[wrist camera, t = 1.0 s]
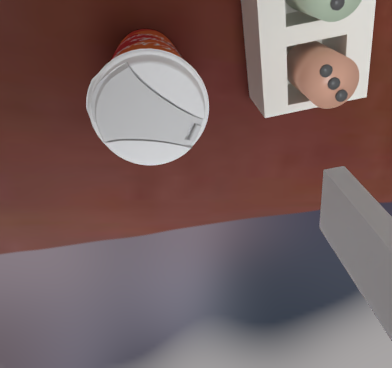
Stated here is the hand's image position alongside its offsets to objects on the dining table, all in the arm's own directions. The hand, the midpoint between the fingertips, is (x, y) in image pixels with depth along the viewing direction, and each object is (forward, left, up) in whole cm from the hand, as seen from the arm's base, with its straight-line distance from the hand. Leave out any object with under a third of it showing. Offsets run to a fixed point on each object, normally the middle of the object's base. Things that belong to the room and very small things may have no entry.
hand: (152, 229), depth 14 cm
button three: (+3, +15, -24) cm, 28 cm away
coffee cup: (+1, 0, -27) cm, 27 cm away
